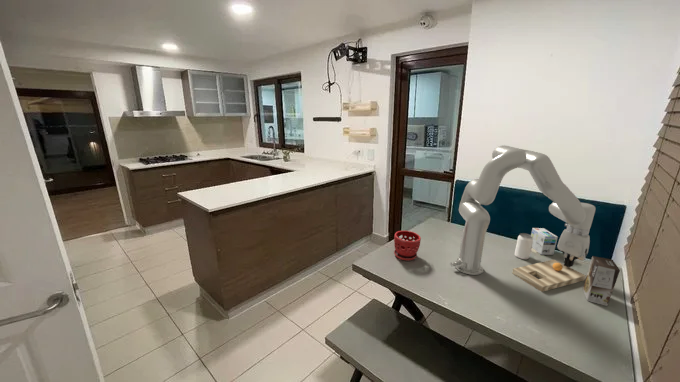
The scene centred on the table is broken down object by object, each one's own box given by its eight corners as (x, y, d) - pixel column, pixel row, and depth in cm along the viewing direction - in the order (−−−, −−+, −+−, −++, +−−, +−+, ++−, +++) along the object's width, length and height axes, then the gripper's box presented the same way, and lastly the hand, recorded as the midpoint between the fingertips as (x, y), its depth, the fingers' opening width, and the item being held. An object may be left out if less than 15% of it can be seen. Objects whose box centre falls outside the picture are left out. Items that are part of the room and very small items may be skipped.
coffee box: (608, 306, 104) (620, 270, 99) (586, 300, 107) (597, 265, 103) (602, 293, 111) (613, 259, 107) (581, 288, 115) (592, 255, 110)
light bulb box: (553, 255, 141) (558, 236, 138) (540, 255, 141) (545, 236, 138) (540, 245, 151) (544, 227, 148) (527, 245, 151) (531, 227, 148)
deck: (541, 291, 113) (543, 286, 112) (512, 273, 125) (513, 268, 125) (584, 280, 120) (585, 275, 119) (552, 263, 133) (553, 259, 132)
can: (532, 259, 137) (536, 238, 133) (519, 259, 137) (523, 238, 133) (523, 253, 143) (528, 232, 139) (511, 253, 143) (515, 232, 139)
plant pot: (408, 265, 132) (410, 244, 128) (388, 255, 142) (389, 234, 138) (424, 257, 140) (426, 236, 136) (403, 247, 149) (405, 227, 146)
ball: (557, 272, 121) (559, 266, 120) (549, 268, 125) (551, 261, 124) (563, 271, 122) (565, 264, 121) (555, 267, 126) (557, 260, 125)
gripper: (554, 224, 126) (545, 259, 131) (591, 238, 112) (580, 276, 117) (565, 222, 128) (556, 256, 133) (603, 236, 114) (591, 273, 119)
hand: (567, 265), depth 125 cm, fingers closed
